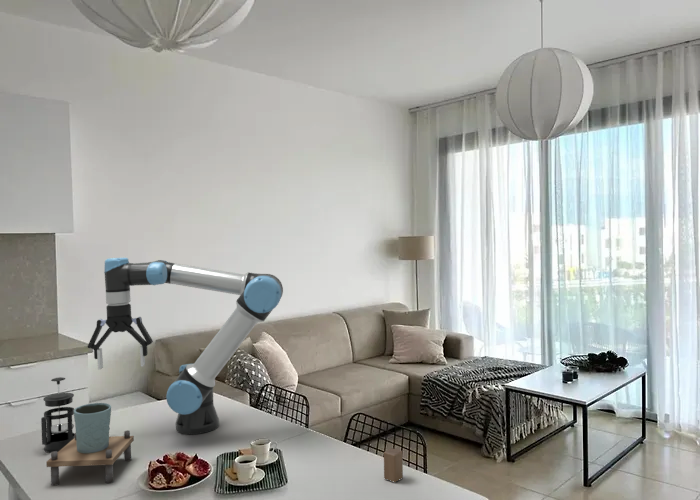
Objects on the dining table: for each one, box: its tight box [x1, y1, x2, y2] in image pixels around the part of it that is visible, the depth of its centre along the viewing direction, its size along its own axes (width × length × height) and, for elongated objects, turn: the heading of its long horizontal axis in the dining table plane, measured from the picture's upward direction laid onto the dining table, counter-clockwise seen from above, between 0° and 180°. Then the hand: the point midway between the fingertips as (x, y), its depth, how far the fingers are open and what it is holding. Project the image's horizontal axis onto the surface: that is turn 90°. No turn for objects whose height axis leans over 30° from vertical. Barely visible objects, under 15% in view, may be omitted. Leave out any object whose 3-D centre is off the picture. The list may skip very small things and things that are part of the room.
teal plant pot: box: [73, 402, 112, 453], centre depth 163 cm, size 10×10×12 cm
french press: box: [40, 376, 75, 453], centre depth 182 cm, size 12×9×23 cm
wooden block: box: [383, 447, 404, 483], centre depth 155 cm, size 4×4×8 cm
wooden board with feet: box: [45, 430, 135, 486], centre depth 163 cm, size 18×18×9 cm
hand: (121, 367), depth 184 cm, fingers open, 13 cm apart
